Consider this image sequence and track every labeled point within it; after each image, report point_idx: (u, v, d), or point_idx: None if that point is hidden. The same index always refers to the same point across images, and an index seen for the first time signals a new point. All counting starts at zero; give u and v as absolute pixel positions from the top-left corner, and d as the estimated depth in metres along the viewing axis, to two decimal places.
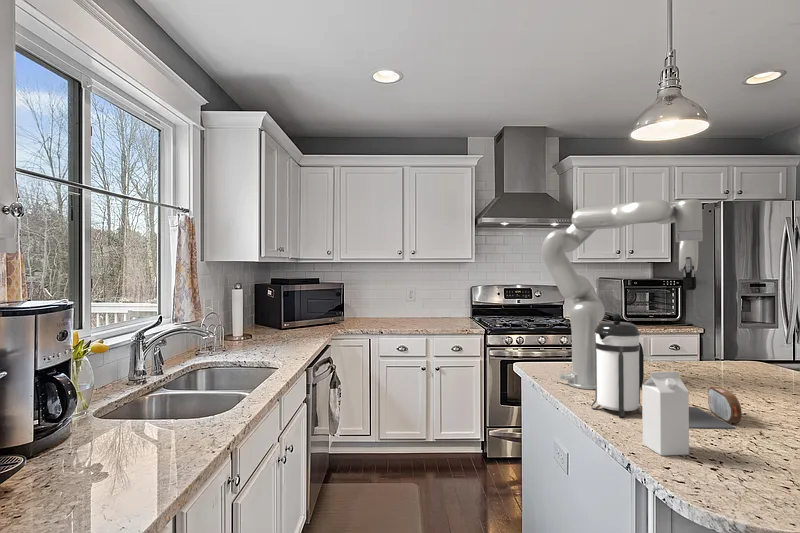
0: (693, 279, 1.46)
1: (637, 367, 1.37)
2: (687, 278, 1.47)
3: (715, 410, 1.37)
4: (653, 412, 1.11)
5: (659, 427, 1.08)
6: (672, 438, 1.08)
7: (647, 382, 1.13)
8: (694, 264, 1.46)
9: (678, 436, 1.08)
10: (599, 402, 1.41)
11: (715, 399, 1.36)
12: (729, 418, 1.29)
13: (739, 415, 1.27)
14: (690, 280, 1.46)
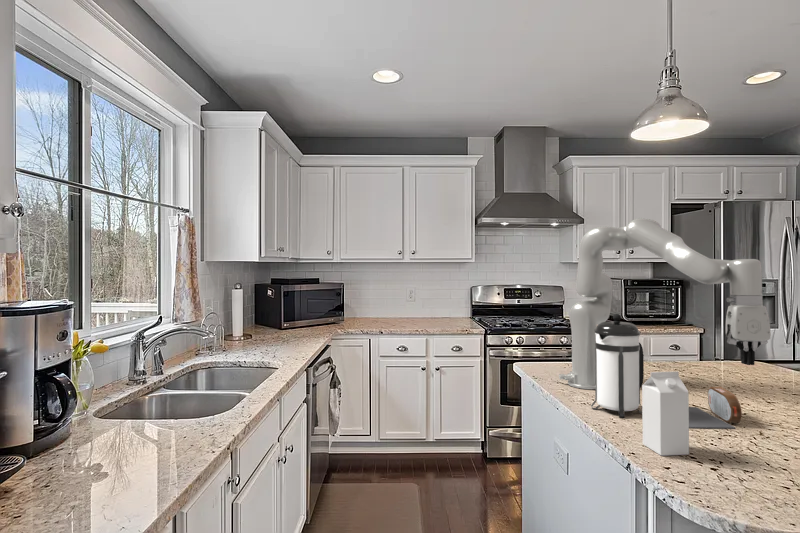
0: None
1: (637, 367, 1.37)
2: None
3: (715, 410, 1.37)
4: (653, 412, 1.11)
5: (659, 427, 1.08)
6: (672, 438, 1.08)
7: (647, 382, 1.13)
8: None
9: (678, 436, 1.08)
10: (599, 402, 1.41)
11: (715, 399, 1.36)
12: (729, 418, 1.29)
13: (739, 415, 1.27)
14: None
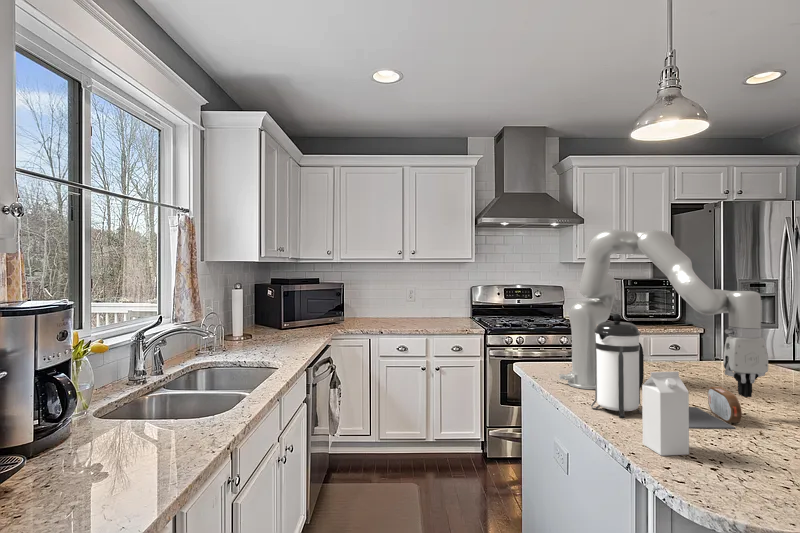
0: None
1: (637, 367, 1.37)
2: None
3: (715, 410, 1.37)
4: (653, 412, 1.11)
5: (659, 427, 1.08)
6: (672, 438, 1.08)
7: (647, 382, 1.13)
8: None
9: (678, 436, 1.08)
10: (599, 402, 1.41)
11: (715, 399, 1.36)
12: (729, 418, 1.29)
13: (739, 415, 1.27)
14: None
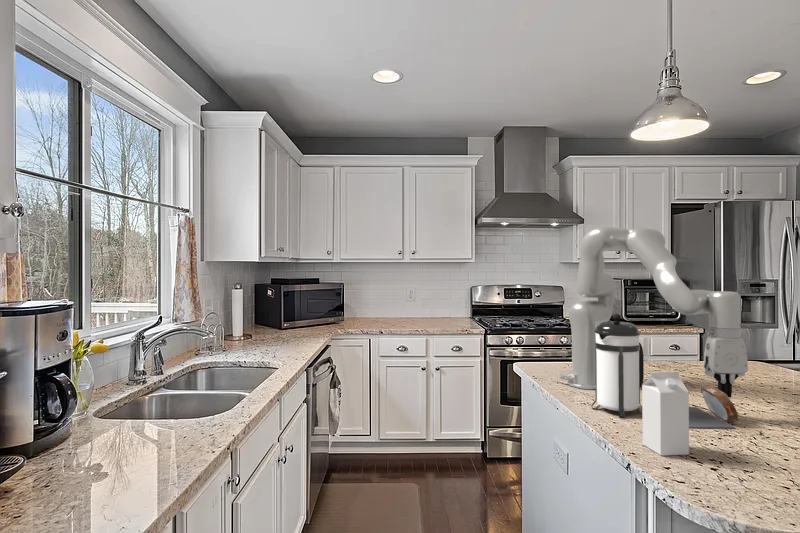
0: None
1: (637, 367, 1.37)
2: None
3: (713, 410, 1.37)
4: (653, 412, 1.11)
5: (659, 427, 1.08)
6: (672, 438, 1.08)
7: (647, 382, 1.13)
8: None
9: (678, 436, 1.08)
10: (599, 402, 1.41)
11: (710, 399, 1.37)
12: (727, 418, 1.29)
13: (734, 413, 1.27)
14: None
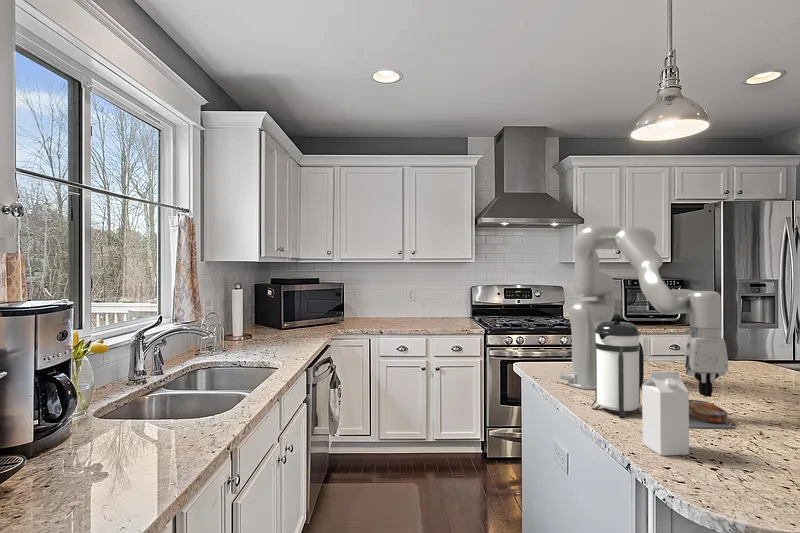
0: None
1: (637, 367, 1.37)
2: None
3: None
4: (653, 412, 1.11)
5: (659, 427, 1.08)
6: (672, 438, 1.08)
7: (647, 382, 1.13)
8: None
9: (678, 436, 1.08)
10: (599, 402, 1.41)
11: None
12: None
13: (719, 417, 1.28)
14: None
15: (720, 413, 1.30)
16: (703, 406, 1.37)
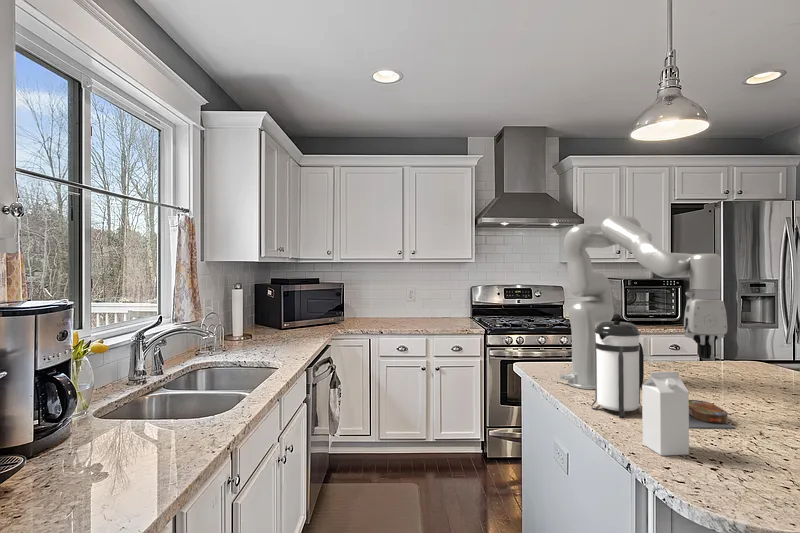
0: None
1: (637, 367, 1.37)
2: None
3: None
4: (653, 412, 1.11)
5: (659, 427, 1.08)
6: (672, 438, 1.08)
7: (647, 382, 1.13)
8: None
9: (678, 436, 1.08)
10: (599, 402, 1.41)
11: None
12: None
13: (719, 417, 1.28)
14: None
15: (720, 413, 1.30)
16: (703, 406, 1.37)
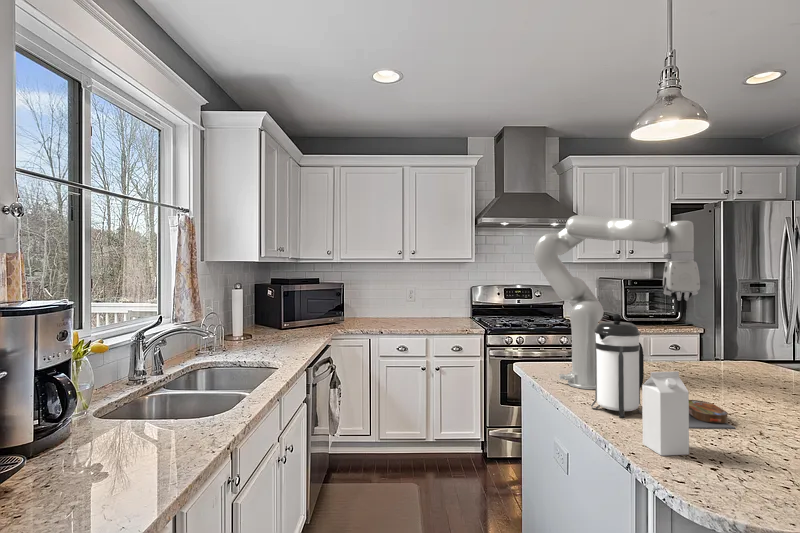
0: None
1: (637, 367, 1.37)
2: None
3: None
4: (653, 412, 1.11)
5: (659, 427, 1.08)
6: (672, 438, 1.08)
7: (647, 382, 1.13)
8: None
9: (678, 436, 1.08)
10: (599, 402, 1.41)
11: None
12: None
13: (719, 417, 1.28)
14: None
15: (720, 413, 1.30)
16: (703, 406, 1.37)
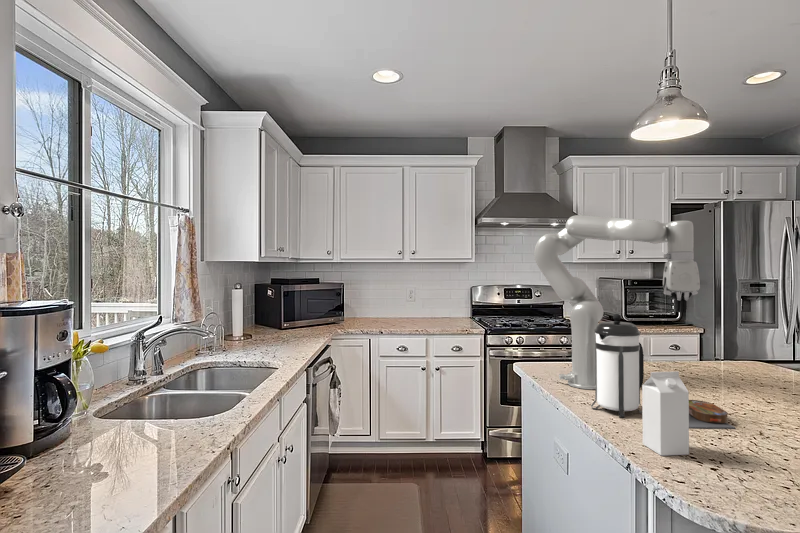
0: None
1: (637, 367, 1.37)
2: None
3: None
4: (653, 412, 1.11)
5: (659, 427, 1.08)
6: (672, 438, 1.08)
7: (647, 382, 1.13)
8: None
9: (678, 436, 1.08)
10: (599, 402, 1.41)
11: None
12: None
13: (719, 417, 1.28)
14: None
15: (720, 413, 1.30)
16: (703, 406, 1.37)
